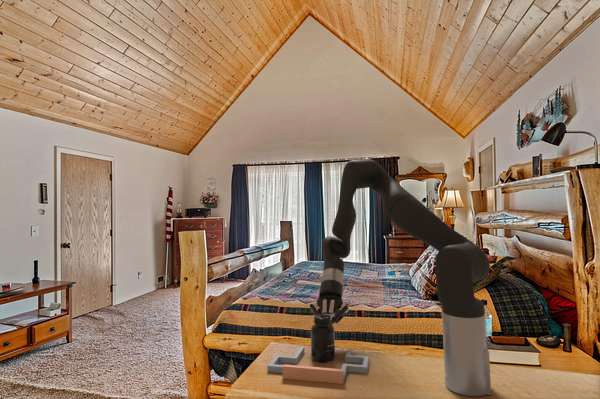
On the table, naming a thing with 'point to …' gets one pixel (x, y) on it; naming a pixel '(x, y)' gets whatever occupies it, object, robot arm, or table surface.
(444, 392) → the table surface
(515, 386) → the table surface
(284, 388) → the table surface
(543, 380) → the table surface
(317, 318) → the supplement bottle
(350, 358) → the grey zigzag frame
